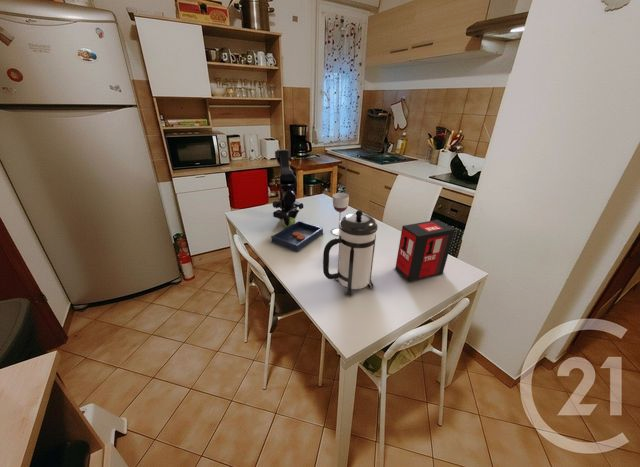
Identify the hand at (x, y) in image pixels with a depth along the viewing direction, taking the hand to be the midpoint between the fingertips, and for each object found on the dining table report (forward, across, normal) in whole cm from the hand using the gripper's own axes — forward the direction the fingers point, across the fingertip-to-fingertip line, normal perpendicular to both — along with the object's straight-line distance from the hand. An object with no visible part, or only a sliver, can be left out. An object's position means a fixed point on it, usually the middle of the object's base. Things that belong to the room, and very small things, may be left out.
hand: (289, 224), depth 142 cm
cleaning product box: (+1, +3, +70) cm, 70 cm away
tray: (+1, +8, +12) cm, 14 cm away
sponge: (+1, 0, 0) cm, 1 cm away
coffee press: (+1, +26, +51) cm, 57 cm away
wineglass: (+1, -9, +26) cm, 28 cm away
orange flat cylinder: (0, +8, +10) cm, 13 cm away
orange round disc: (0, +9, +14) cm, 17 cm away
